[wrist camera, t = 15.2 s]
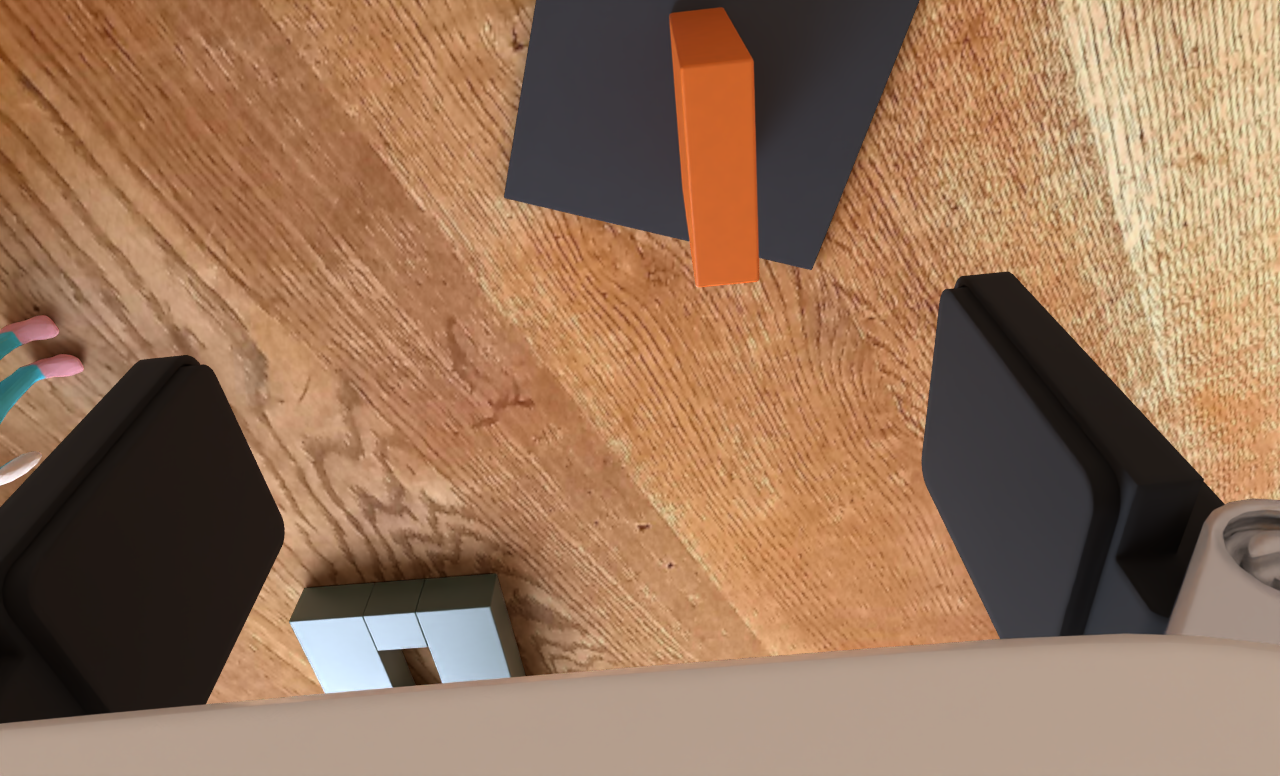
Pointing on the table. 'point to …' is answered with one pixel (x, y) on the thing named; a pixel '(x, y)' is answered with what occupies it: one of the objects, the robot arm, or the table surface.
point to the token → (716, 145)
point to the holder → (406, 631)
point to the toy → (29, 379)
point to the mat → (647, 120)
